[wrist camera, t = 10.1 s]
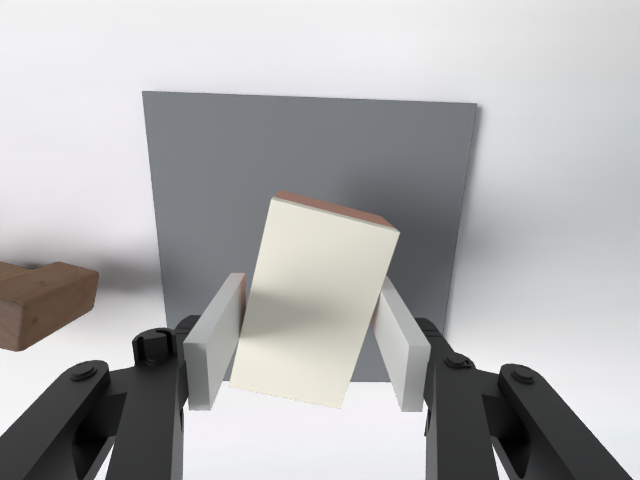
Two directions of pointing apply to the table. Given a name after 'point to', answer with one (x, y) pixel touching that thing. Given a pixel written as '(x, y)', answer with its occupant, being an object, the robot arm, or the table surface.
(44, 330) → the wooden block set
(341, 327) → the card deck
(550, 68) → the table surface
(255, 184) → the rubber mat
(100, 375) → the robot arm
